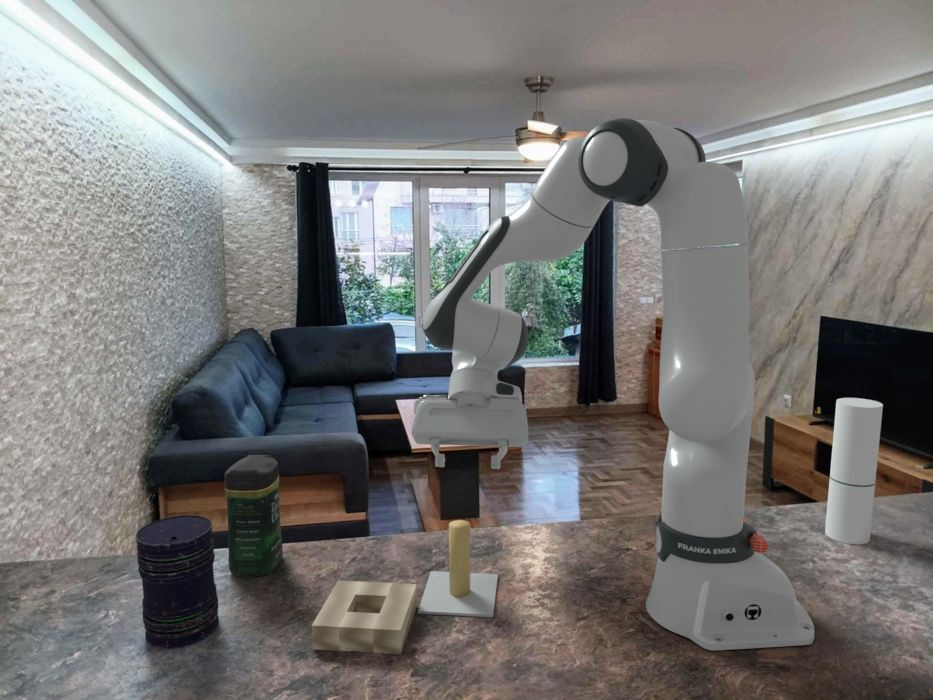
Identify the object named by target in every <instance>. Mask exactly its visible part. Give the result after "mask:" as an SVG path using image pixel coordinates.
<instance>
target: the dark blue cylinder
mask: <svg viewBox="0 0 933 700" xmlns="http://www.w3.org/2000/svg"><path fill="white" fill-rule="evenodd" d="M135 539H136V540H135V541H136V557H137V558H136V560H137V564H138V570H137V571H138V573H139V577H140V578H141V582H142V584H141V585H142V592H143V594H142V595H143V597H142V601H141V602H142V614H141V615H142V622H143V625H144V630H145V632H144V635H145V641H146V643H147V644H148V645H149V646H151V647H153V648H157V649H161V650H176V649H182V648H185V647H190V646H194V645H195V644H197V643H200V642H203V641H204V640H206V639H207V638H209V637H210V636H212V635H213V633H215V632H216V630H217V629H218V627H219V624H220V621H219V620H220V618H219V597H218V591H217V585H216V583H215V575H214V563H215V557H216V556H215V552H214V550H215V541H214V537H213V525H212V521H211V520H210V519H208V518H207V517H204V516H202V515H201V516H200V515H193V514H189V515H188V514H186V515H183V514H182V515H175V516H169V517H165V518H162V519H158V520H154V521H153V522H149V523H148V524H146V525H144V526H142V527H141V528H139V530H138V531H137V532H136V535H135Z"/></svg>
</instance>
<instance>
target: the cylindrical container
mask: <svg viewBox="0 0 933 700" xmlns="http://www.w3.org/2000/svg"><path fill="white" fill-rule="evenodd" d="M883 408H884V404H883V403H882V402H880V401H878V400H873V399H866V398H862V397H861V398H858V397H841V398H837V399H836V401H835V411H834V412H835V413H834V426H833V436H832V446H831V447H832V449H831V459H830V469H829V470H830V471H829V472H830V473H829V480H828V491H827V492H828V493H827V505H826V506H827V507H826V515H825V516H826V517H825V526H824V527H825V528H824V533H825V535H826V536H827V537H829V538H830V539H832V540H834V541H837V542H840V543H844V544H847V545H858V546H859V545H865V544H867V543H869V542H870V540H871V529H872V521H873V520H872V519H873V511H874V510H873V509H874V501H875V489H876V479H877V468H878V459H879V449H880V441H881V440H880V439H881V430H882V419H883Z"/></svg>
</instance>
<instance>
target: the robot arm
mask: <svg viewBox="0 0 933 700" xmlns="http://www.w3.org/2000/svg"><path fill="white" fill-rule="evenodd" d="M610 201H612V202H615V203H616V202H617V203H621V204H627V205H631V206H635V207H643V206H645V205H647V206H649V207H650V208H652V209H653V210H654V212H655V213H656V215H657V217H658V220H659V221H658V222H659V227H660V228H659V229H660V250H661V251H660V252H661V253H660V254H661V255H660V257H661V277H662V278H661V280H662V282H661V283H662V300H663V302H662V307H663V308H662V310H663V311H662V322H661V323H662V325H661V326H662V327H661V334H660V335H661V338H660V353H659V376H658V377H659V383H658V384H659V388H658V409H659V413H660V417H661V418H662V419H661V420H662V421H663V423H664V425H665V426H666V427H667V428H668V439H667V444H666V445H667V446H666V450H665V451H666V452H665V457H664V461H663V468H662V469H663V472H662V495H661V499H662V500H661V512H660V513H659V515H658V520H657V526H656V537H655V539H656V540H655V541H656V542H655V544H656V545H655V549H656V553H657V561H656V566H655V571H654V577H653V581H652V583H651V587H650V590H649V593H648V596H647V599H646V602H645V609H646V611H647V613H648V615H649V616H650V618H652V620H654V621H655V622H656V623H657V624H659V625H660V626H662V627H663V628H665V629H666V630H669V631H670V632H673V633H674V634H678V635H680V636H683V637H685V638H687V639H689V640H691V641H692V642H694V643H695V644H697V645H698V646H700V647H701V648H703V649H705V650H708V651H727V650H731V651H732V650H746V649H761V648H779V647H794V646H797V647H798V646H806V645H807V646H809V645H812V644H813V642H814V640H815V636H816V635H815V626H814V623H813V621H812V618H811V616H810V615H809V613H808V611H807V610H806V609H805V608H804V606H803V605H802V604H801V603H800V602H799V601H798V600H797V595H796V592H795V588H794V586H793V584H792V582H791V580H790V579H789V577H788V576H787V575H786V573H785V572H784V570H782V569H781V567H779V566H778V565H777V564H776V563H775V562H774V561H772V560H771V559H769V558H768V557H767V556H766V555H764V554H765V553H766V552H767V551H768V550H769V547H770V546H769V543H768V542H767V540H766V539H765V537H764V536H763V535H761V534H758V533H757V530H756V529H755V528H754V527H753V526H752V525H750V524H749V523H748V522H747V521H746V520H745V519H744V515H745V501H746V500H745V499H746V487H747V486H746V485H747V484H746V483H747V472H748V471H747V470H748V462H749V453H750V441H751V433H752V421H753V412H754V411H753V409H754V399H755V389H756V388H755V386H756V378H755V377H756V376H755V371H754V369H753V366H752V364H751V362H750V361H749V325H750V324H749V323H750V306H751V305H750V304H751V302H750V270H749V269H750V267H749V265H750V264H749V236H748V235H749V234H748V223H747V213H746V207H745V202H744V201H745V200H744V197H743V192H742V187H741V183H740V180H739V178H738V175H737V173H736V172H735V171H734V170H733V169H732V168H731V167H729V166H727V165H724V164H722V163H719V162H714V161H707V158H706V154H705V150H704V148H703V146H702V143H700V142H699V140H698V139H697V138H696V137H695V136H694V135H692V134H691V133H690V132H687V131H686V130H684V129H682V128H678V127H671V126H668V125H665V124H663V123H661V122H658V121H654V120H647V119H645V120H644V119H632V118H625V117H624V118H622V117H621V118H614V119H612V120H607V121H604V122H601V124H598V125H597V126H595V127H594V128H593V129H591V130H590V131H589V132H588V134H587V135H586V136H574V137H572V138H569V139H568V140H566V141H565V142H564V143H563V144H561V146H560V147H559V148H558V150H557V151H556V152H555V154H554V156H553V157H552V158H551V159H550V161H549V162H548V163H547V166H546V167H545V168H544V170H543V172H542V173H541V174H540V177H539V178H538V180H537V182H536V184H535V185H534V188H533V189H532V192H531V193H530V195H529V197H528V198H527V199H526V200H525V202H524V203H522V204H521V206H519V208H517V209H516V210H514V212H512V213H510V214H508V215H505V216H504V215H503V216H499V217H497V218H496V219H495V220H494V221H493V222H491V224H490V225H489V226H487V228H486V229H485V230H484V231H483V233H482V234H481V236H480V237H479V238H478V239H477V241H476V242H475V243H474V245H473V246H472V248H470V251H468V253H467V255H466V256H465V257H464V259H463V260H462V261H461V263H460V264H459V265H458V267H457V268H456V270H455V271H454V273H453V274H452V275H451V276H450V278H449V279H448V281H447V282H446V283H445V285H444V286H443V287H442V288H441V289H439V291H438V292H437V294H435V295H434V296H433V297H432V298H431V301H430V303H428V305H427V307H426V310H425V311H424V315H423V320H422V325H421V327H422V331H423V333H424V335H425V337H426V338H427V340H428V341H429V343H430V344H431V346H433V347H434V348H437V349H443V350H447V351H452V356H451V364H452V372H451V374H450V377H449V385H448V393H447V394H435V395H433V394H432V395H431V394H423V396H421V397H418V398H417V399H416V400H415V402H414V404H413V414H414V416H413V420H412V425H411V429H410V430H411V431H410V432H411V436H412V439H413V441H414V442H415V443H416V444H417V445H430V448H431V451H432V453H433V455H434V456H435V458H434V466H435V467H436V468H445V462H446V457H445V453H440V452H439V450H440V448H441V446H469V447H498V452H497V454H495V455H493V454H491V456H490V459H491V460H490V469H494V470H495V469H496V470H500V469H501V461H502V460H503V459H504V457H505V456H506V454H507V453H508V448H524V447H525V446H526V445H527V444H528V443H529V425H528V424H529V423H528V422H529V421H528V416H527V410H526V407H525V405H524V404H523V396H522V391H521V388H520V387H519V386H517V385H514V384H511V383H507V382H504V381H501V380H499V379H498V373H499V371H504V370H505V369H508V368H509V367H511V366H512V365H514V364H515V363H517V362H519V361H520V360H521V358H522V357H523V356H524V355H525V353H526V350H527V345H528V341H529V340H528V338H529V331H528V326H527V323H526V321H525V319H524V317H523V315H522V314H521V313H518V312H516V311H513V310H511V309H508V308H504V307H501V306H498V305H494V304H491V303H488V302H484V301H482V300H478V299H475V298H473V296H474V295H475V294H476V292H477V291H479V288H480V287H481V286H482V284H483V283H484V282H485V280H486V279H487V278H488V276H489V275H490V273H492V271H494V270H495V269H496V268H498V267H501V266H503V265H507V264H511V263H521V262H538V263H539V262H540V263H541V262H542V263H544V262H555V261H559V260H562V259H565V258H568V257H569V256H572V255H573V254H575V253H576V252H577V251H578V250H580V248H581V247H582V245H583V244H584V243H585V242H586V241H587V239H588V237H589V236H590V234H591V232H592V230H593V229H594V226H595V225H596V223H597V222H598V219H599V218H600V216H601V215H602V212H603V211H604V209H605V208H606V206H607V205H608V204H609V202H610Z"/></svg>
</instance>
